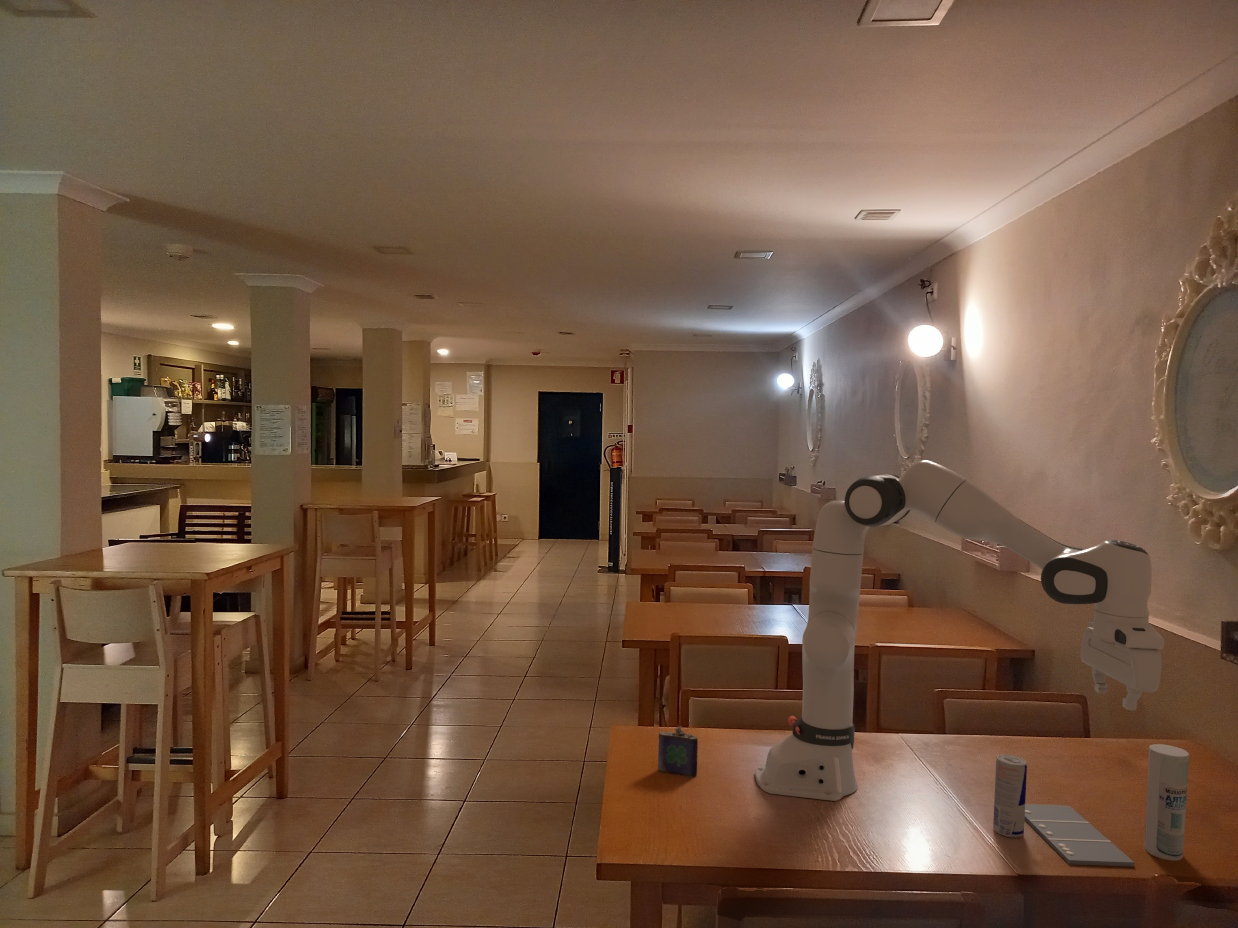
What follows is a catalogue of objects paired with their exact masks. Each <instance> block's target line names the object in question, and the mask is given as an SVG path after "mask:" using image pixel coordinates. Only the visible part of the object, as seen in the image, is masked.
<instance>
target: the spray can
mask: <svg viewBox="0 0 1238 928" xmlns="http://www.w3.org/2000/svg"><path fill="white" fill-rule="evenodd" d="M1147 762H1148V763H1147V786H1146V787H1147V788H1146V804H1145V805H1146V807H1145V830H1144V850H1145V851H1146V852H1147V853H1148V854H1149V855H1152V856H1154V857H1156V858H1159V859H1161V860H1166V861H1167V860H1168V861H1180V860H1182V859H1183V857H1184V845H1185V844H1184V842H1185V829H1186V814H1187V813H1186V812H1187V797H1188V783H1189V782H1188V781H1189V770H1190V769H1189V766H1190V753H1189V752H1188V751H1187V750H1185V749H1184V748H1180V747H1177V746H1174V745H1170V744H1163V743H1162V744H1161V743H1156V744H1155V743H1154V744H1150V745H1149V746H1148V761H1147Z"/></svg>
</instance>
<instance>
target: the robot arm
mask: <svg viewBox="0 0 1238 928" xmlns="http://www.w3.org/2000/svg"><path fill="white" fill-rule="evenodd" d="M910 511H914V512H917V513H920V514H921V515H923V516H925V518H928V519H929V520H931V521H932V522H934V523H935V524H937V525H938V526H940V527H941V528H942V529H945V530H946V531H948V532H949V533H952V534H954V535H956V536H958V537H960V538H963V539H965V540H970V541H983V542H989V543H993V544H996V545H999V546H1003V547H1004V548H1007V549H1008V550H1010V551H1012V552H1014V553H1015V554H1017V555H1019V556H1020V557H1022V559H1023V558H1024V559H1025V560H1027V561H1029V563H1031V564H1033V565H1035V566H1036V567H1037V568H1039V569H1041V573H1040V582H1041V586H1042V589H1043V591H1044V592H1045V593H1046V595H1047V596H1048V597H1049V598H1051V600H1054V601H1055V602H1058V603H1059V604H1063V605H1069V606H1070V605H1071V606H1074V605H1091V604H1092V605H1094V611H1093V618H1092V619H1090V621H1088V623H1087V627H1086V628H1085V629H1084V631H1083V634H1082V639H1081V646H1080V651H1079V653H1080V655H1079V657H1080V660H1081V662H1082V663H1083V664H1085V665H1087V666H1089V667H1091V674H1092V679H1093V682H1094V687H1093V689H1094V691H1095V692H1096V693H1098V694H1099V695H1107V694H1108V692H1109V691H1108V688H1109V685H1108V684H1107V682H1106V676H1105V675H1107V676H1108V677H1110V678H1111V679H1113V680H1115V681H1118V682H1119V683H1121V684H1124V685H1125V686H1126V692H1127V694H1126V697H1122V704H1121V705H1122V707H1123V709H1126V710H1127V711H1136V710H1137V706H1138V701H1139V699H1140V698H1141V697H1142V695H1143V693H1144V692H1145V693H1155V692H1156V691H1158V688H1159V686H1160V684H1161V676H1162V666H1163V665H1162V663H1163V662H1162V661H1163V660H1162V655H1161V652H1160V651H1159V650H1163V649H1164V648H1165V639H1164V637H1163V636H1162V635H1161V634H1160V633H1159V632H1158V631H1157V630H1156V629H1155V627H1153V625H1152V624H1151V623H1150V622H1149V619H1150V613H1149V612H1150V611H1149V607H1148V602H1149V601H1148V600H1149V598H1150V595H1151V593H1152V592H1151V591H1152V581H1153V580H1152V578H1153V577H1152V570H1153V569H1152V560H1151V556H1150V554H1149V553H1148V552H1147V551H1146V550H1145V549H1144V548H1142V547H1141V546H1139V545H1136V544H1134V543H1130V542H1127V541H1122V540H1117V539H1107V540H1106V539H1105V540H1104V541H1103V542H1101V543H1099V544H1096V545H1094V546H1092V547H1088V548H1083V547H1077V546H1071V545H1067V544H1064V543H1061V542H1058V541H1057V540H1054V539H1053V538H1051V537H1049V536H1048V535H1046V534H1045V533H1043V532H1041V531H1040V530H1038V529H1036V528H1035V527H1033V526H1031V525H1029V524H1027V522H1025V521H1023V520H1022V519H1020V518H1018V517H1017V516H1016V515H1014V514H1013V513H1012V512H1011V511H1009V510H1008V509H1007V508H1006V507H1004V505H1002V504H1001V503H999V502H998V501H997V500H996V499H995V498H994V497H993V496H991V495H990V494H989V493H988V492H986V491H985V490H984V489H982V488H981V487H980V486H978V485H977V484H976V483H974V482H973V481H972V480H970V479H968V478H966V477H964V476H963V475H961V474H960V473H958V472H955V471H954V470H952V469H950V468H948V467H945V466H943V465H942V464H939V463H936V462H934V461H931V460H926V459H922V460H919V461H916V462H914V463H913V464H911V465H910V466H909V467H908V468H907V469H906V470H905V472H904V473H903V474H902V475H901V476H898V475H895V474H891V473H890V474H889V473H888V474H887V473H874V474H872V475H869V476H863V477H860V478H858V479H857V480H855V481H854V482H852V484H850V486H849V487H848V488H847V490H846V493H845V495H844V500H834V501H829V502H828V503H825V504H824V505H823V506H822V507H821V509H820V510H819V513H818V517H817V521H816V525H815V529H814V535H813V542H812V553H811V562H810V575H809V594H808V595H809V598H808V601H809V602H808V616H807V623H806V627H805V629H804V631H803V635H802V646H801V647H802V648H801V651H802V653H801V654H802V656H801V657H802V658H801V659H802V660H801V661H802V662H801V663H802V702H801V703H802V704H801V706H802V707H801V709H802V710H801V717H800V718H798V719H797V718H796V716H794V715H790V716H789V717H788V718H787V722H788V724H789V726H790V727H791V728H792V732H791V733H792V734H790V735H788V736H787V737H785V738H784V739H782V740H781V741H779V742H777V743H776V744H775V745H773V746H771V748H770V749H769V750H768V753H767V756H766V761H765V764H762V765H759V766H758V767H757V768H756V769H755V776H754V777H755V778H754V779H755V781H756V783H757V785H758V786H759V788H761V789H762V790H763V791H764V792H766V793H768V794H771V795H780V796H788V797H797V798H798V797H799V798H806V799H807V798H808V799H815V800H823V801H833V802H836V801H837V802H838V801H839V800H840V799H842V798H843V797H844V796H849V795H851V794H852V793H854V792H856V791H857V789H858V787H859V786H858V782H857V779H856V773H855V768H854V767H855V766H854V758H853V757H854V756H853V750H854V744H855V731H856V730H855V724H854V722H853V716H854V715H853V712H854V711H853V709H854V692H855V691H854V689H855V688H854V684H855V682H854V679H855V677H854V676H855V671H854V669H855V645H856V639H857V632H858V623H859V609H860V607H859V606H860V595H861V583H862V575H863V574H862V572H863V562H864V553H865V552H864V550H865V540H866V535H867V533H868V531H869V529H870V528H872V527H882V526H884V527H885V526H888V525H891V524H893V523H896V522H898V521H901V520H902V519H904V518H906V516H907V515H909V513H910Z"/></svg>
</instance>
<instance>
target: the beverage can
mask: <svg viewBox="0 0 1238 928" xmlns="http://www.w3.org/2000/svg"><path fill="white" fill-rule="evenodd" d="M1027 764H1028V762H1027V760H1025V759H1024V758H1022V757H1019V756H1017V755H1014V754H1013V755H1012V754H1006V753H1005V754H1004V753H1003V754H997V756H996V760H995V775H994V776H995V779H994V797H993V798H994V799H993V800H994V801H993V802H994V803H993V822H992V824H993V827H992V829H993V830H994V831H995V832H996V833H997V834H999V835H1001V836H1004V837H1007V838H1013V839H1014V838H1017V839H1018V838H1021V837H1022V836H1024V835H1025V820H1024V819H1025V804H1026V798H1027V797H1026V796H1027V773H1028V765H1027Z"/></svg>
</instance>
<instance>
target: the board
mask: <svg viewBox="0 0 1238 928" xmlns="http://www.w3.org/2000/svg"><path fill="white" fill-rule="evenodd" d="M1024 822H1026V823H1028V824H1029V826H1030V827H1031V828H1032V829H1033V830H1034V831H1036V833H1037V834H1038V835H1039V836H1040V837H1041V838H1042V839H1043V840H1044V841H1045V842H1046V843H1047V844H1048V846H1050V847H1051V848H1052V849H1053V850H1054V851H1055V852H1056V853H1057V854H1058V855H1059V856H1060V857H1061V858H1062V859H1063V860H1064V861H1065V862H1066V863H1067V864H1068V865H1080V866H1081V865H1082V866H1110V867H1131V868H1132V867H1133V868H1134V867H1135V861H1134V860H1132V859H1131V858H1130V857H1129V856H1128V855H1126V854H1125V853H1124V852H1123V851H1122V850H1121V849H1120V848H1119V847H1117V845H1116V844H1114V843H1113V842H1112V841H1111V840H1110V839H1108V838H1107V837H1106V836H1105V835H1104V834H1102V833H1101V831H1099V830H1098V829H1097V828H1095V827H1094V826H1093V825H1092V824H1091V823H1090V821H1088V820H1086V819H1085V818H1084V816H1082V815H1081V814H1079V813H1078V812H1077V810H1076V809H1074V808H1073V807H1071V806H1070V805H1064V804H1063V805H1062V804H1035V803H1033V804H1032V803H1025V819H1024Z"/></svg>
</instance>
